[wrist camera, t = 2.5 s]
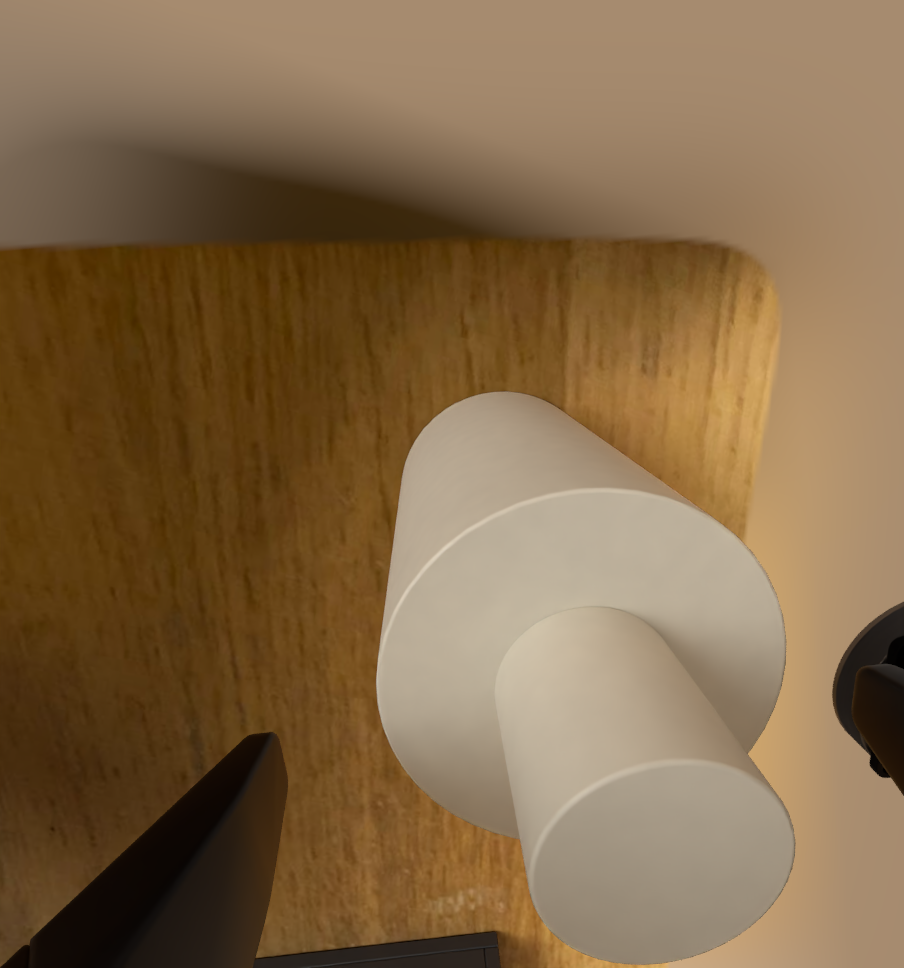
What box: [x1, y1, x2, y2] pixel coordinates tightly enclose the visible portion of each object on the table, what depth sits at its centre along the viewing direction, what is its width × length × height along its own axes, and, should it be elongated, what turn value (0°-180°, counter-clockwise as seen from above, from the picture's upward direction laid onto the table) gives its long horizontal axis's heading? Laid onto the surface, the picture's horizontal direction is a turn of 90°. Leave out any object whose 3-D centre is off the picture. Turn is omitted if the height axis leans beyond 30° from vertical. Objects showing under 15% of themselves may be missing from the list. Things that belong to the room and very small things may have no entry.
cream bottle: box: [376, 392, 795, 965], centre depth 12 cm, size 6×6×13 cm
